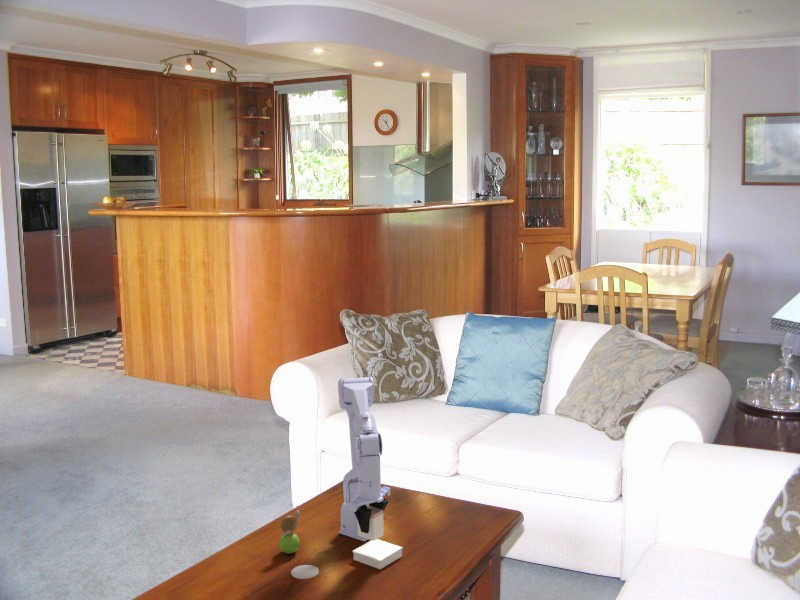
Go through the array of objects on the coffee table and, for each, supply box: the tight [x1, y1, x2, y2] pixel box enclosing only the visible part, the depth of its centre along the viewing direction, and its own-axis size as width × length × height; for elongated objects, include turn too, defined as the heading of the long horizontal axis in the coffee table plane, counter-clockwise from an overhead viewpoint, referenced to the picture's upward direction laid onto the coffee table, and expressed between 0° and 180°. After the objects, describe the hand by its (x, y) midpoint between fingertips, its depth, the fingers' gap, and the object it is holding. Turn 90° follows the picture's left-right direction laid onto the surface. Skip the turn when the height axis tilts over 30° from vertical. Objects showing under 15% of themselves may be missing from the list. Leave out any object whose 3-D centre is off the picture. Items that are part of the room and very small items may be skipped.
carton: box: [357, 505, 385, 541], centre depth 217 cm, size 6×4×7 cm
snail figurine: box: [278, 505, 301, 554], centre depth 223 cm, size 5×6×12 cm
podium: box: [351, 538, 404, 570], centre depth 219 cm, size 9×9×2 cm
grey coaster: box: [290, 564, 320, 580], centre depth 212 cm, size 7×7×1 cm
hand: (370, 529), depth 217 cm, fingers closed on carton, 4 cm apart
